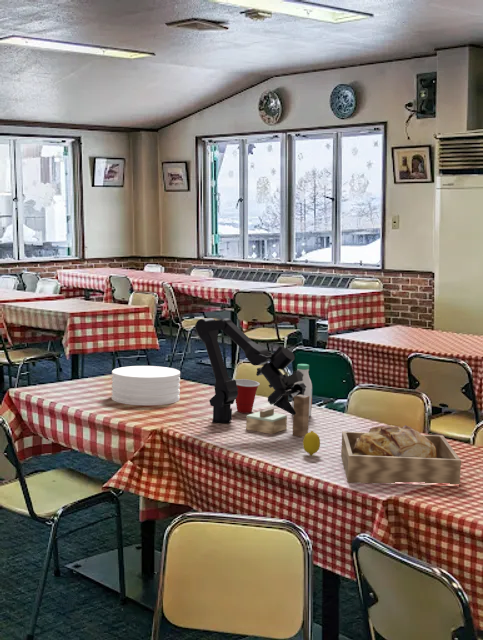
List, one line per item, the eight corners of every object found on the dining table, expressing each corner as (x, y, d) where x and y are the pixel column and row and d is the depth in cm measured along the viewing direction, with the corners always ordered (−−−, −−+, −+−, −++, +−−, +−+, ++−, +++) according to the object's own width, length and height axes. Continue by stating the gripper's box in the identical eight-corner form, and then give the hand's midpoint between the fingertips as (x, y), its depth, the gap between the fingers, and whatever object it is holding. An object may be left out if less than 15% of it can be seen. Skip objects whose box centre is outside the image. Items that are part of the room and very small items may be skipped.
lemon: (301, 453, 302) (302, 429, 301) (318, 453, 302) (319, 429, 301) (303, 457, 296) (304, 433, 295) (320, 457, 297) (322, 433, 296)
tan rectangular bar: (292, 435, 326) (294, 396, 324) (298, 433, 329) (299, 394, 327) (302, 437, 324) (304, 397, 322) (307, 434, 327) (309, 396, 325)
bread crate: (347, 482, 270) (348, 455, 269) (341, 455, 300) (342, 431, 299) (459, 487, 268) (461, 460, 268) (441, 459, 299) (443, 435, 298)
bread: (345, 462, 298) (343, 417, 296) (430, 459, 297) (429, 413, 295) (352, 486, 273) (350, 436, 271) (445, 482, 272) (443, 432, 270)
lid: (246, 417, 332) (246, 409, 332) (260, 413, 340) (261, 405, 340) (272, 422, 326) (273, 414, 326) (286, 417, 335) (287, 409, 334)
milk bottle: (309, 418, 354) (311, 366, 352) (289, 416, 356) (291, 365, 354) (312, 414, 362) (314, 363, 360) (292, 412, 363) (294, 362, 361)
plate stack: (192, 398, 387) (193, 371, 385) (151, 408, 363) (152, 380, 362) (140, 389, 401) (140, 363, 400) (97, 399, 378) (97, 371, 377)
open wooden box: (246, 429, 332) (246, 417, 332) (260, 424, 341) (260, 413, 340) (272, 434, 327) (272, 422, 326) (286, 428, 335) (286, 417, 335)
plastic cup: (247, 415, 355) (248, 385, 354) (225, 411, 362) (226, 381, 360) (264, 411, 364) (265, 381, 362) (242, 407, 370) (243, 377, 369)
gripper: (276, 366, 319) (303, 402, 314) (302, 360, 334) (328, 394, 330) (256, 386, 324) (282, 421, 319) (282, 379, 339) (308, 413, 335)
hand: (301, 412), depth 325 cm, fingers open, 9 cm apart
